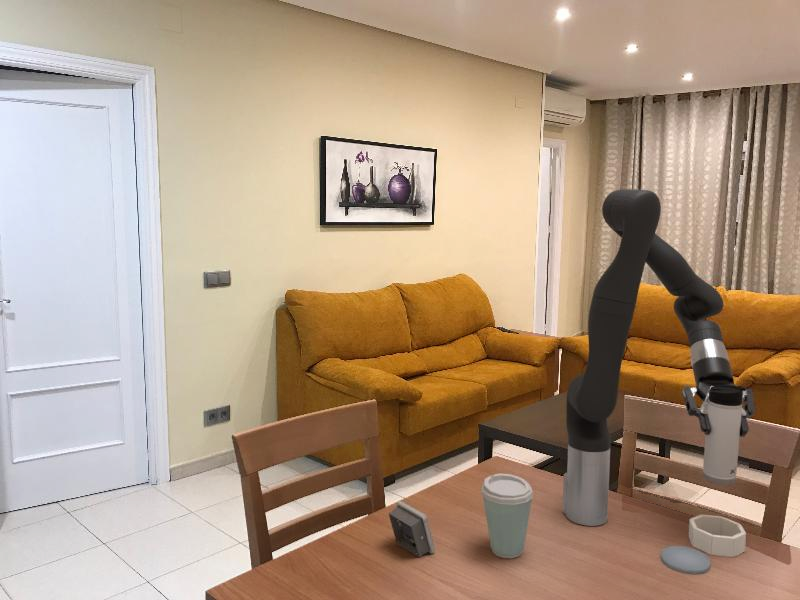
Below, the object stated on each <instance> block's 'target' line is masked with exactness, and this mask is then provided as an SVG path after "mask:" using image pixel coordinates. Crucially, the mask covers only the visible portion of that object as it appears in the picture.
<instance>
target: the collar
mask: <svg viewBox="0 0 800 600" xmlns="http://www.w3.org/2000/svg"><path fill="white" fill-rule="evenodd" d="M688 539H689V542H690V543H691V546H692V547H694V549H695V548H696V549H698V550H699V551H701V552H702V551H703V552H704V553H707V554H708V555H710V556H718V557H727V558H735V557H737V556H739V555H741V554H744V553H745V552H746V543H747V541H746V540H747V532H746V531H745V529H744V528H743V525H741V523H739V522H737V521H734V520H731V519H730V518H726V517H725V516H720V515H709V514H699V515H697V516H694V517H691V518H689V523H688ZM743 552H744V553H743Z"/></svg>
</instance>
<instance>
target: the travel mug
mask: <svg viewBox="0 0 800 600" xmlns="http://www.w3.org/2000/svg"><path fill="white" fill-rule="evenodd" d="M745 390H746V388H745V387H744V386H743V385H738V386H737V385H735V386H733V385H718V386H713V387H711V388H710V390H709V399H708V402H709V403H708V410H707V412H706V414H707V415H708V417H709V422H710V427H711V432H710V434H709V435H705V439H704V440H705V441H704V454H703V466H702V468H703V469H702V477H703V478H704V479H705V480H706V481H708V482H710V483H714V484H718V485H724V486H725V485H733V484H735V483H736V482H737V473H738V471H737V469H738V460H739V459H738V458H739V449H740V448H739V447H740V425H741V413H742V408H743V401H742V397H743V391H745Z"/></svg>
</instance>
